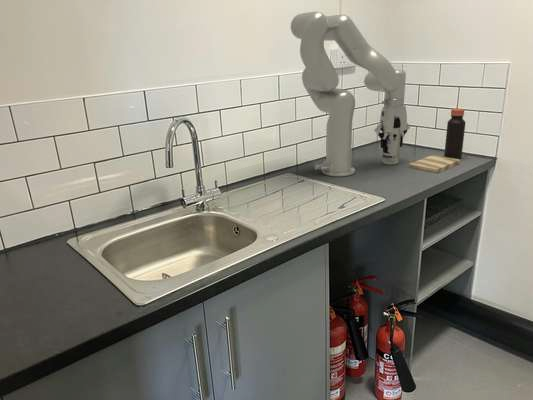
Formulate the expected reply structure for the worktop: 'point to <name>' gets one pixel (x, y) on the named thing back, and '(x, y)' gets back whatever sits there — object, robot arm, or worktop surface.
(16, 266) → the worktop surface
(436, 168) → the oak board
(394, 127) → the spray can
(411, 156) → the worktop surface
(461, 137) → the bottle
